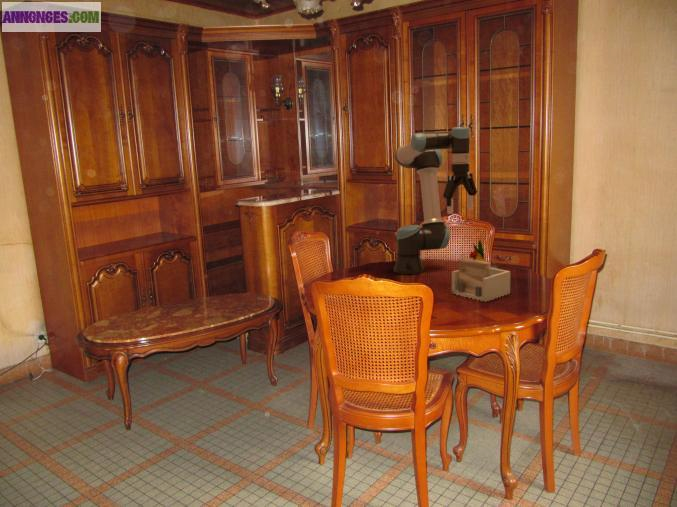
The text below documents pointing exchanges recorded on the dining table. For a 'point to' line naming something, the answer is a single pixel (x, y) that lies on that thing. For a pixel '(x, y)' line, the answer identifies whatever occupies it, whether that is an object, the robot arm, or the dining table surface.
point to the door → (473, 274)
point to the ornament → (478, 252)
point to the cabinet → (485, 285)
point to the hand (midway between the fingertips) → (460, 211)
